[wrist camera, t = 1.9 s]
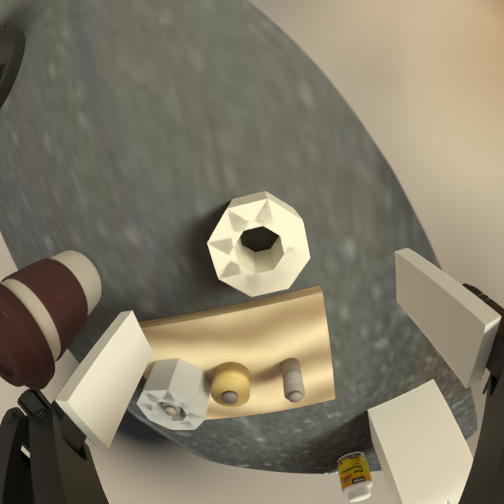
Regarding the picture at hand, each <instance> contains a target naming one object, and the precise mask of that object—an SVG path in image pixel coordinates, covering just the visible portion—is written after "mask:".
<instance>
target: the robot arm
mask: <svg viewBox="0 0 504 504" xmlns="http://www.w3.org/2000/svg"><path fill="white" fill-rule="evenodd" d="M24 46H25V36H24V33H23V31H22V30H21V29H19V28H17V27H14V26H11V25H5V26H1V27H0V107H1V105H2V103H3V102H4V100H5V98H6V96H7V95H8V93H9V91H10V89H11V87H12V84H13V82H14V80H15V77H16V75H17V72H18V70H19V67H20V64H21V60H22V57H23V52H24ZM395 263H396V302H397V303H398V304H399V305H400V306H401V307H402V309H403V310H404V311H405V312H406V313H407V314H408V316H409V317H410V318H411V319H412V320H413V321H414V323H415V324H416V325H417V326H418V327H419V329H420V330H421V331H422V332H423V333H424V335H425V336H426V337H427V338H428V339H429V341H430V342H431V343H432V344H433V346H434V347H435V348H436V349H437V351H438V352H439V353H440V354H441V356H442V357H443V358H444V360H445V361H446V362H447V363H448V365H449V366H450V367H451V369H452V370H453V371H454V373H455V374H456V375H457V377H458V378H459V379H460V381H461V382H462V384H463V385H464V386H465V388H468V387H469V386H471V385H473V384H474V383H476V382H478V381H479V380H481V379H482V376H483V374H484V371H485V368H487V369H488V370H489V371H490V376H489V378H488V381H487V383H486V385H485V388H484V390H483V394H485V392H486V390H487V396H486V403H485V410H484V417H483V422H482V427H481V432H480V436H479V440H478V445H477V449H476V452H475V456H474V460H473V463H472V466H471V470H470V473H469V476H468V479H467V482H466V484H465V487H464V490H463V492H462V495H461V498H460V500H459V502H458V504H504V309H503V308H502V307H501V306H499V305H498V304H497V303H496V302H494V301H493V300H492V299H489V297H488V296H486V295H485V294H484V295H483V293H482V292H481V291H480V290H478V289H477V288H476V287H473V286H470V285H468V284H462V285H461V284H460V283H458V282H457V281H456V280H454V279H453V278H452V277H450V276H449V275H447V274H446V273H445V272H443V271H442V270H440V269H439V268H437V267H436V266H435V265H433V264H432V263H430V262H429V261H427V260H426V259H424V258H423V257H421V256H420V255H418V254H417V253H415V252H414V251H412V250H411V249H409V248H406V249H402V250H398V251H395ZM152 354H153V351H152V349H151V347H150V345H149V344H148V342H147V340H146V338H145V336H144V334H143V332H142V330H141V328H140V326H139V323H138V321H137V319H136V317H135V315H134V313H133V311H132V310H131V311H125V312H121V313H120V314H119V315H118V316H117V318H116V319H115V320H114V321H113V323H112V324H111V325H110V326H109V327H108V329H107V330H106V331H105V333H104V334H103V335H102V336H101V338H100V339H99V340H98V341H97V343H96V344H95V345H94V347H93V348H92V349H91V350H90V352H89V353H88V354H87V356H86V357H85V358H84V360H83V361H82V362H81V364H80V365H79V367H78V368H77V369H76V370H75V371H74V373H73V374H72V375H71V377H70V379H69V380H68V381H67V383H66V384H65V385H64V387H63V388H62V390H61V391H60V392H59V394H58V395H57V397H56V398H55V399H54V401H53V402H52V404H50V403H49V401H48V400H47V399H46V398H45V396H44V395H43V394H42V392H41V391H40V390H39V389H38V388H37V387H33V388H30V389H28V390H26V391H25V392H24V393H22V394H21V396H20V397H19V399H18V402H17V403H18V404H19V406H20V407H21V408H22V409H23V411H24V412H25V413H26V414H27V415H28V416H25V415H24V413H23V412H22V411H21V410H20V409H19V408H18V407H14V408H12V409H9V410H8V411H7V412H6V414H5V416H4V417H3V419H2V422H1V425H0V504H109V503H108V501H107V498H106V496H105V493H104V491H103V488H102V485H101V483H100V480H99V477H98V475H97V472H96V469H95V465H94V463H93V459H92V456H91V453H90V449H89V447H88V445H87V444H86V443H85V442H84V441H85V439H86V437H87V438H89V440H90V441H91V442H92V443H93V444H94V445H96V446H100V447H106V448H109V446H110V444H111V441H112V439H113V437H114V435H115V433H116V430H117V428H118V426H119V424H120V421H121V419H122V417H123V415H124V412H125V411H126V408H127V406H128V404H129V402H130V400H131V398H132V395H133V393H134V391H135V389H136V387H137V385H138V383H139V381H140V379H141V377H142V375H143V373H144V370H145V368H146V366H147V364H148V362H149V360H150V358H151V356H152ZM22 446H23V447H24V448H25V449H26V450H27V451H28V452H30V458H29V457H28V456H26V455H25V454H24V453H23V452H22V451H21V447H22Z"/></svg>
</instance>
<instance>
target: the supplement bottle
mask: <svg viewBox="0 0 504 504" xmlns="http://www.w3.org/2000/svg"><path fill="white" fill-rule="evenodd" d="M337 466H338V471H339V475H340V481H341V486H342V491H343V494H345V495H348V499H349V502H357V501H360V500H363V499H366V498H368V497H369V496H370V495H371V493H370V489H369V488H370V487H371V486H372V484H373V483H372V479H371V475H370V472H369V468H368V464H367V461H366V457H365V454H364V453H363V452H360V451H356V452H351V453H348V454H345V455H343V456H342V457H340V458H339V459H338V461H337Z"/></svg>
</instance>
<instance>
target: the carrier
mask: <svg viewBox="0 0 504 504" xmlns="http://www.w3.org/2000/svg"><path fill="white" fill-rule="evenodd" d="M138 323H139V326H140V328H141V330H142V332H143V334H144V336H145V338H146V340H147V342H148V344H149V345H150V347H151V349H152V351H153V354H152V356H151V358H150V360H149V362H148V364H147V366H146V368H145V370H144V373H143V376H144V378H145V379H146V381H147V378H148V376H149V374H150V372H151V370H152V368H153V366H154V364H155V362H156V360H165V359H174V358H180V359H182V360H184V361H186V362H188V363H190V364H192V365H195V366H197V367H199V368H201V369H203V371H204V373H205V375H206V377H207V379H208V381H209V383H210V385H211V391H210V396H209V402H208V408H207V414H206V419H218V418H229V417H239V416H248V415H255V414H262V413H269V412H275V411H281V410H287V409H292V408H297V407H302V406H307V405H311V404H315V403H320V402H324V401H328V400H332V399H335V391H334V380H333V370H332V360H331V352H330V343H329V335H328V327H327V320H326V313H325V306H324V299H323V292H322V290H321V288H320V286H319V285H318V286H314V287H310V288H306V289H302V290H297V291H293V292H289V293H285V294H280V295H276V296H271V297H267V298H262V299H258V300H253V301H249V302H244V303H239V304H234V305H229V306H224V307H219V308H214V309H209V310H204V311H199V312H193V313H188V314H182V315H177V316H171V317H165V318H159V319H153V320H147V321H141V322H138ZM162 408H163V409H164V410H165V411H164V412H165V413H166V414H167V415H170V416H174V415H175V414H178V413H179V412H180V410H181V407H180V406H177V405H175V404H173V403H171V402H163V405H162Z"/></svg>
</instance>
